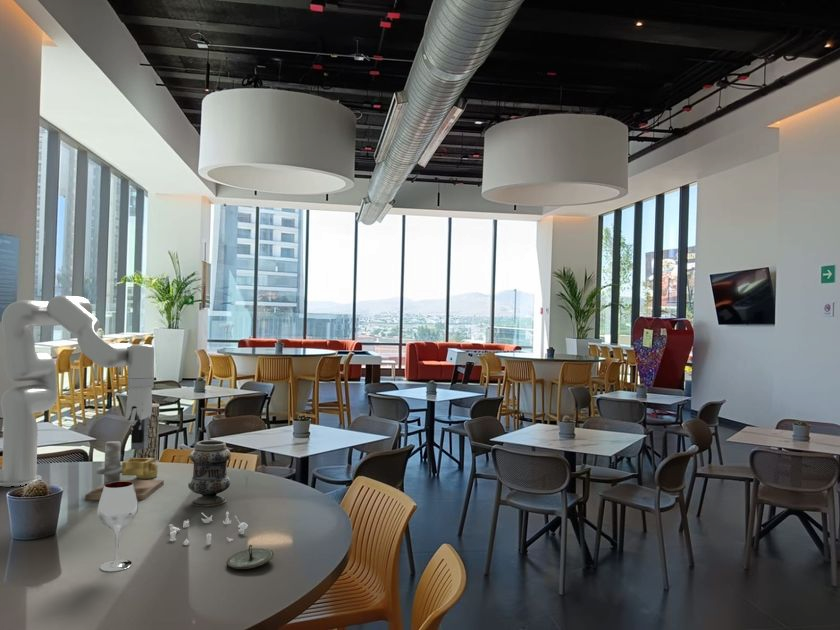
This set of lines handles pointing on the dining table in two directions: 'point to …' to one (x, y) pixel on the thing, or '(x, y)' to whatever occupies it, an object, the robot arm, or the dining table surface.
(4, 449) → the robot arm
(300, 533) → the dining table surface
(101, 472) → the board
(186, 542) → the game piece set
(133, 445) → the grey rectangular bar
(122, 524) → the wineglass
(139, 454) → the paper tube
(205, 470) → the apothecary jar
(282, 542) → the dining table surface
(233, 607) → the dining table surface
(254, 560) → the lid
